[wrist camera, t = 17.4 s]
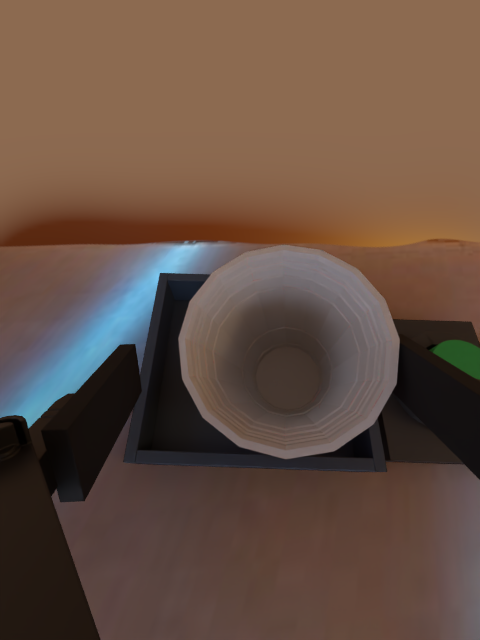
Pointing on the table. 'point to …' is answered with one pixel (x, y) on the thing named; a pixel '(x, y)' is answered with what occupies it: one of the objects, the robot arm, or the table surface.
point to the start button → (460, 355)
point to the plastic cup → (289, 351)
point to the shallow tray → (185, 419)
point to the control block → (399, 421)
